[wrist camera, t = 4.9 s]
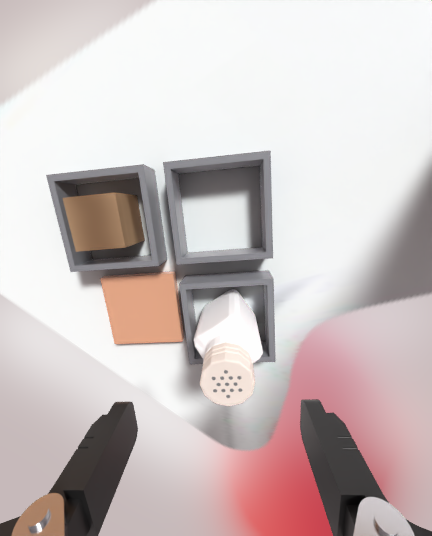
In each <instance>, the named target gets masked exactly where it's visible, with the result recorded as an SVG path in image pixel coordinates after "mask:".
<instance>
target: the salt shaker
mask: <svg viewBox="0 0 432 536" xmlns="http://www.w3.org/2000/svg"><path fill="white" fill-rule="evenodd" d="M194 344H195V347H196V349H197V350H198V352H199V354H200V355H201V357H202V358H203V368H202V373H201V378H200V386H201V388H202V391H203V393H204V395H205V396H206V397H207V398H208V399H210V400H211V401H212V402H214V403H215V404H219V405H224V406H233V405H237V404H242V403H243V402H244V401H246V400H247V399H248V398H249V397H250V396H251V395H252V393H253V390H254V386H255V376H254V369H253V363H255V362H256V361H257V360H259V359H260V357H261V355H262V354H263V350H262V345H261V340H260V336H259V331H258V326H257V322H256V317H255V314H254V313H253V311H252V310H251V309H250V307H249V306H248V304H247V303H246V302H245V300H244V299H243V297H242V296H241V295H240V293H239V292H238V291H237V290H235V289H232V290H229V291H227V292H225V293H224V294H222V295H221V296H219V297H218V298H216V299H214V300H213V301H211V302H210V303H208V304H207V305H205V306H204V308H203V309H202V313H201V316H200V319H199V323H198V326H197V330H196V333H195V336H194Z"/></svg>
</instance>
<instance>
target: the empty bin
mask: <svg viewBox="0 0 432 536" xmlns="http://www.w3.org/2000/svg"><path fill="white" fill-rule="evenodd" d="M163 165H164V173H165V180H166V188H167V196H168V203H169V211H170V218H171V226H172V233H173V241H174V249H175V256H176V264H177V265H180V264H194V263H209V262H224V261H239V260H253V259H268V258H273V240H272V198H271V156H270V151H262V152H253V153H244V154H235V155H225V156H216V157H207V158H198V159H189V160H180V161H171V162H163ZM249 166H259V168H260V196H261V225H262V247H259V248H245V249H231V250H217V251H203V252H189V253H188V251H187V243H186V234H185V226H184V217H183V209H182V200H181V192H180V183H179V175H178V174H182V173H192V172H201V171H211V170H221V169H230V168H240V167H249Z"/></svg>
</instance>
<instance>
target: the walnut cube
mask: <svg viewBox="0 0 432 536" xmlns="http://www.w3.org/2000/svg"><path fill="white" fill-rule="evenodd" d="M63 202H64V206H65V210H66V214H67V218H68V222H69V226H70V230H71V234H72V238H73V242H74V246H75V250H76V252H79V251H91V250H103V249H115V248H126V247H128V246H131V245H134V244H137V243H139V242H142V241H145V239H144V234H143V228H142V222H141V216H140V210H139V204H138V198H137V195H131V194H124V193H116V192H113V193H104V194H94V195H85V196H75V197H66V198H63Z"/></svg>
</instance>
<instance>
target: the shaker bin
mask: <svg viewBox="0 0 432 536" xmlns="http://www.w3.org/2000/svg"><path fill="white" fill-rule="evenodd" d="M256 285H264V310H265V338H266V341H261V345H262V350H263V354H262V355H261V357H260V359H259V360H257V361H256V362H275V324H274V282H273V277H272V275H271V274H270V272H269V271H253V272H237V273H221V274H206V275H190V276H185V277H184V278H183V280H182V281H181V282H180V284H179V286H180V294H181V302H182V309H183V317H184V324H185V332H186V339H187V347H188V355H189V362H190V364H203V358H202V357H201V355H200V354H199V352H198V350H197V349H196V347H195V344H194V336H195V333H196V330H197V327H196V319H195V310H194V302H193V293H192V289H204V288H221V287H238V286H256Z"/></svg>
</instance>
